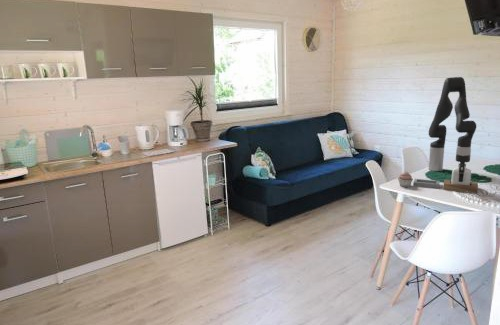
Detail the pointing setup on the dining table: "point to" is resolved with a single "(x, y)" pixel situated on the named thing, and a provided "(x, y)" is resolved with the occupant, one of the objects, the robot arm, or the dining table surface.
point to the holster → (426, 183)
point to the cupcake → (405, 179)
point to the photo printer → (465, 178)
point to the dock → (460, 186)
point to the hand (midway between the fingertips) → (460, 180)
